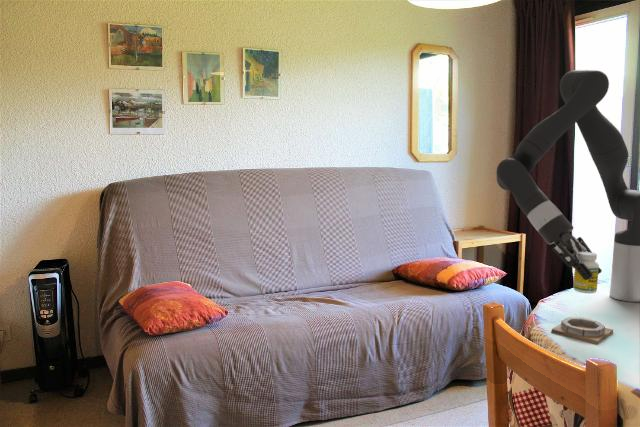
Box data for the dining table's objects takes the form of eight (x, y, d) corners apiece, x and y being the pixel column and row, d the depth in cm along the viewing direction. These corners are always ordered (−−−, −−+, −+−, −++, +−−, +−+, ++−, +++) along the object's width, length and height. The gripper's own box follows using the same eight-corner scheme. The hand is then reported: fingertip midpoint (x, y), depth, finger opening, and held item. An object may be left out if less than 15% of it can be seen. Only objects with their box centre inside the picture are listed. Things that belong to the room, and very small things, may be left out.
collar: (568, 321, 146) (569, 313, 146) (613, 332, 138) (613, 324, 138) (551, 332, 138) (552, 323, 138) (597, 344, 130) (598, 334, 130)
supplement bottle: (580, 286, 140) (583, 250, 139) (601, 291, 136) (604, 254, 135) (568, 289, 137) (571, 252, 136) (588, 295, 133) (592, 256, 132)
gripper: (548, 216, 134) (595, 272, 128) (571, 210, 144) (616, 262, 137) (526, 234, 139) (570, 289, 132) (550, 227, 149) (592, 279, 142)
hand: (593, 275), depth 135 cm, fingers closed on supplement bottle, 5 cm apart
